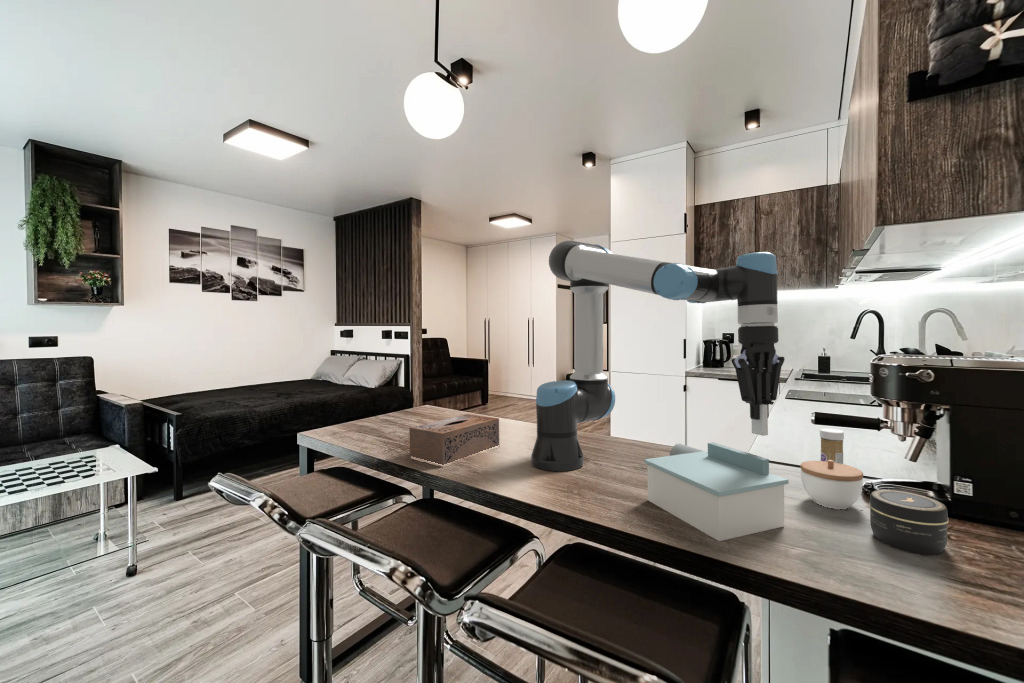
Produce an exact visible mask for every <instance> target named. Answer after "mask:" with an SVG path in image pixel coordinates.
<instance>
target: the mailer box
mask: <svg viewBox="0 0 1024 683" xmlns="http://www.w3.org/2000/svg"><path fill="white" fill-rule="evenodd" d="M646 465H647V467H646V468H647V501H649V503H652V504H654V505H655V506H657V507H659V508H660V509H662V510H664V511H666V512H668V513H670V514H671V515H672V516H675V517H676V518H678V519H679V520H681V521H683V522H685V523H686V524H688V525H690V526H692V527H693V528H696V529H697V530H699V531H701V532H702V533H704V534H706V535H707V536H709V537H711V538H713V539H714V540H717V541H718V542H723V541H726V540H732V539H736V538H739V537H740V538H741V537H745V536H748V535H749V536H750V535H752V534H756V533H761V532H765V531H771V530H774V529H778V528H783V527H785V484H784V485H779V486H773V487H768V488H763V489H757V490H752V491H746V492H741V493H735V494H730V495H725V496H717V495H714V494H712V493H710V492H708V491H705V490H703V489H701V488H699V487H697V486H694V485H692V484H690V483H688V482H685V481H683V480H681V479H679V478H677V477H674V476H672V475H670V474H668V473H665V472H663V471H661V470H659V469H657V468H654V467H652V466H650V465H648V464H646Z"/></svg>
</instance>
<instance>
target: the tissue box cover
mask: <svg viewBox="0 0 1024 683" xmlns="http://www.w3.org/2000/svg"><path fill="white" fill-rule="evenodd" d="M498 445H499V446H500V418H499V417H492V416H487V415H486V416H484V415H477V414H469V413H465V414H462V415H458V416H453V417H452V416H451V417H448V418H444V419H439V420H435V421H431V422H427V423H423V424H419V425H415V426H410V427H409V457H410V456H413V457H416V458H420V459H424V460H427V461H431V462H435V463H438V464H442V465H444V464H447V463H450V462H453V461H455V460H458V459H461V458H464V457H467V456H469V455H472V454H475V453H478V452H480V451H483V450H486V449H489V448H492V447H495V446H498Z"/></svg>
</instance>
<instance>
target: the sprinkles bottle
mask: <svg viewBox="0 0 1024 683" xmlns="http://www.w3.org/2000/svg"><path fill="white" fill-rule="evenodd" d="M819 437H820V460H819V461H827V462H828V460H833V461H834V463H840V464H844V440H845V433H844V431H843V430H841V429H835V428H826V427H825V428H821V429H820V430H819Z"/></svg>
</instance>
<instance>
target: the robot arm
mask: <svg viewBox="0 0 1024 683" xmlns="http://www.w3.org/2000/svg"><path fill="white" fill-rule="evenodd" d="M548 266H549V269H550V271H551V273H552V274H553V275H554V276H555V277H556V278H558V279H560V280H562V281H567V282H570V283H569V289H570V291H571V292H572V293H573V294H574V371H573V373H572V374H571V375H570V376H569V380H567V379H566V380H565V379H564V380H556V381H555V380H554V381H549V382H544V383H542V384H540V385H539V386H538V387H537V390H536V398H535V406H536V439H535V442H534V446H533V449H532V451H531V455H530V456H531V457H530V458H531V461H530V462H531V465H532V466H533V465H534V466H533V467H535V468H537V469H540V470H544V471H551V472H552V471H553V472H567V471H574V470H577V469H580V468H582V467H583V466H584V465H583V464H585V463H584V462H585V461H584V460H585V458H584V454H583V451H582V447H581V445H580V442H579V438H578V424H581V423H587V422H591V421H592V422H593V421H598V420H600V419H603V418H606V417H608V415H610V414H611V413H612V411H613V410H614V407H615V404H616V394H615V391H614V389H613V387H612V385H611V384H610V383H609V380H608V378H609V377H608V376H607V375H606V373H604V295H605V293H606V292H607V291H608V290H609V287H610V286H611V285H612V286H616V287H620V288H626V289H630V290H634V291H639V292H642V293H648V294H652V295H658V296H661V297H662V298H665V299H668V300H672V301H686V302H688V303H689V304H706V303H713V302H714V303H715V302H722V301H723V302H724V301H725V302H726V301H735V300H737V324H738V325H740V326H739V328H737V337H738V344H741V349H740V355H739V356H738V357H735V358H734V357H733V358H732V359H731V364H732V365H733V367H734V369H735V370H734V371H735V374H736V379H737V383H738V384H737V385H738V388H739V392H740V397H741V398H740V399H741V400H742V402H744V403H746V404H749V417H750V419H751V434H754V435H757V436H758V435H759V436H761V437H764V436H768V435H769V426H768V425H769V416H770V415H769V412H770V411H769V410H770V408H769V406H770V405H774V402H775V401H777V398H778V392H779V385H780V378H781V372H782V367H783V365H784V363H785V359H786V358H785V357H784V356H779V354H777V350H776V348H775V344H777V343H778V342H779V327H778V326H777V325H775V324H777V323H778V320H779V319H778V318H779V316H778V315H779V314H778V302H779V301H778V275H779V272H778V268H777V267H778V265H777V257H776V255H775V254H774V253H771V252H768V251H762V252H749V253H745V254H741V255H739V256H738V257H737V258H736V263H735V265H733V266H729V267H722V268H721V267H720V268H714V269H713V268H712V269H711V268H706V267H705V268H704V267H699V266H693V265H688V264H685V263H680V262H669V261H667V262H666V261H660V260H655V259H650V258H649V259H648V258H641V257H635V256H628V255H621V254H615V253H613V252H612V251H611V250H610V249H608V248H607V247H605V246H602V245H599V244H596V243H595V244H593V243H588V242H580V241H576V240H564V241H561V242H559V243H557V244H556V245H555V246H554V247H553V248H552V250H551V252H550V253H549V256H548ZM609 285H610V286H609ZM582 465H583V466H582ZM581 466H582V467H581Z"/></svg>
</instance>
